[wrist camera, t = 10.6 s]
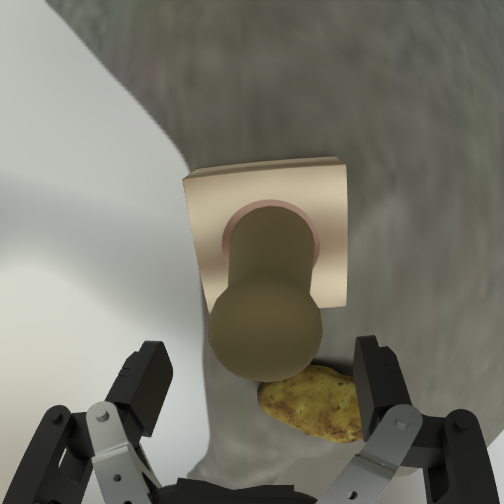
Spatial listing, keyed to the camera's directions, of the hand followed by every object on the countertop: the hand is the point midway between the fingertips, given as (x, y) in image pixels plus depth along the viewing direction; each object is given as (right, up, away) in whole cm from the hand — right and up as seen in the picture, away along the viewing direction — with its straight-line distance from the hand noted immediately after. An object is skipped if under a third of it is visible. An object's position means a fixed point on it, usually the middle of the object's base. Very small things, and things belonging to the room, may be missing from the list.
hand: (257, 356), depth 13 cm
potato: (+7, -10, +21) cm, 24 cm away
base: (+1, +6, +14) cm, 15 cm away
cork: (+1, +5, +10) cm, 11 cm away
